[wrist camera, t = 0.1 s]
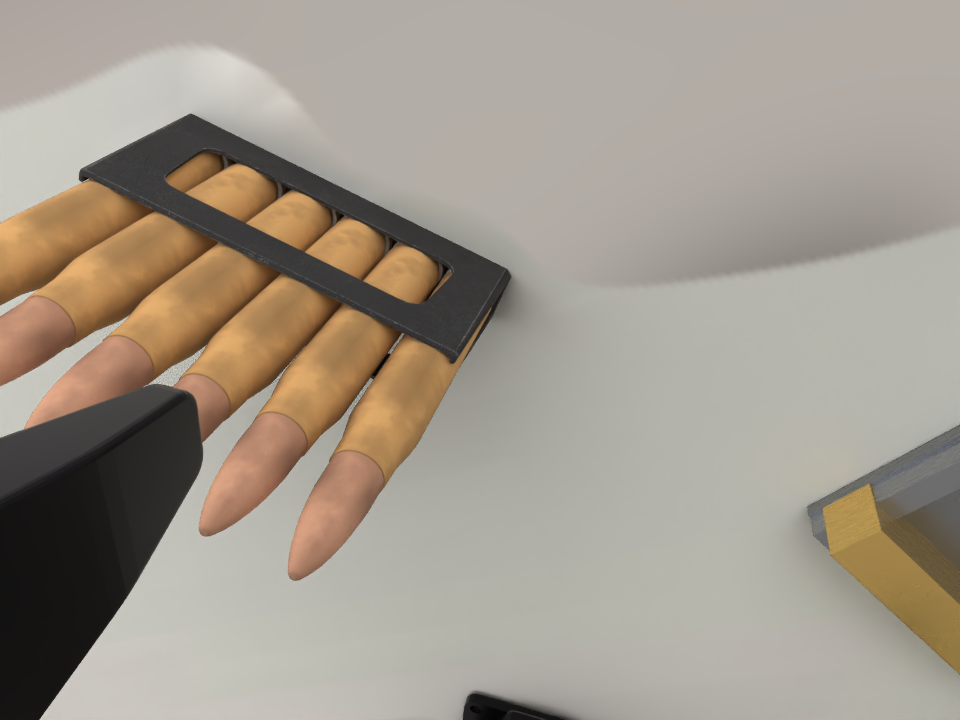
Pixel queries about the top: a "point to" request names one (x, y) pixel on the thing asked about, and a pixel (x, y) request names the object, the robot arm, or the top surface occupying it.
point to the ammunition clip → (247, 313)
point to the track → (904, 539)
